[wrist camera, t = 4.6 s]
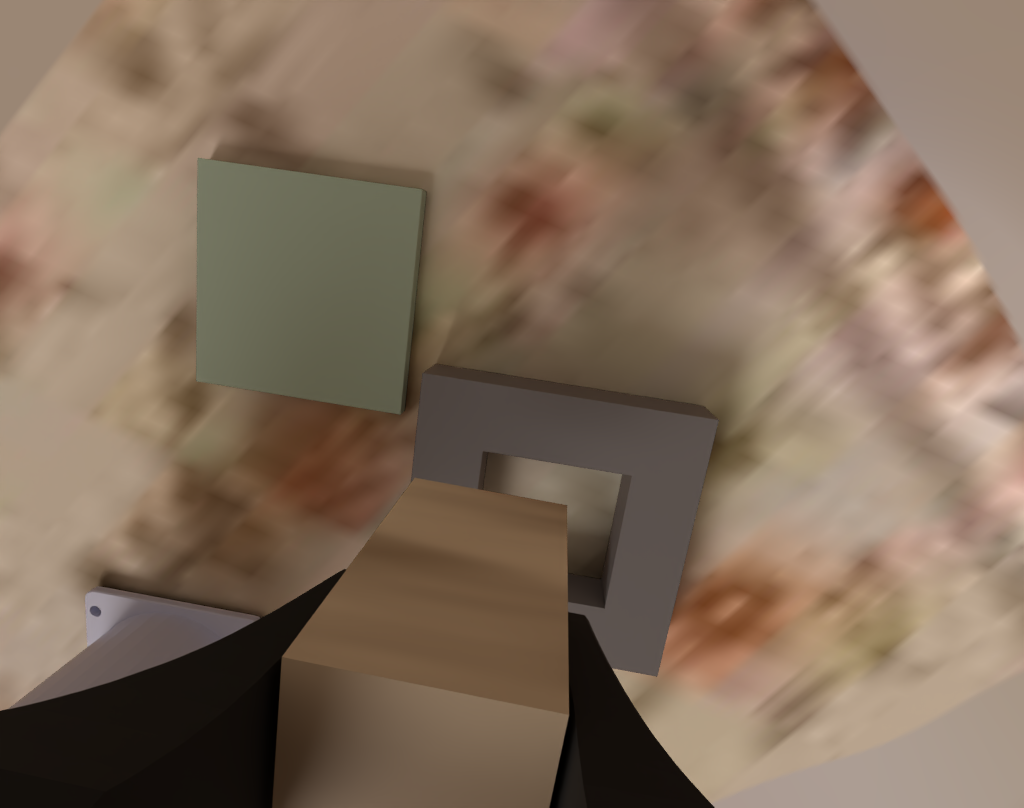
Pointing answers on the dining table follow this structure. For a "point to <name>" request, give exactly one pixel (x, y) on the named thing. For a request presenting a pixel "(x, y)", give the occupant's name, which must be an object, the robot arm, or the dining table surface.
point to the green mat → (306, 284)
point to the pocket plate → (594, 445)
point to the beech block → (434, 662)
